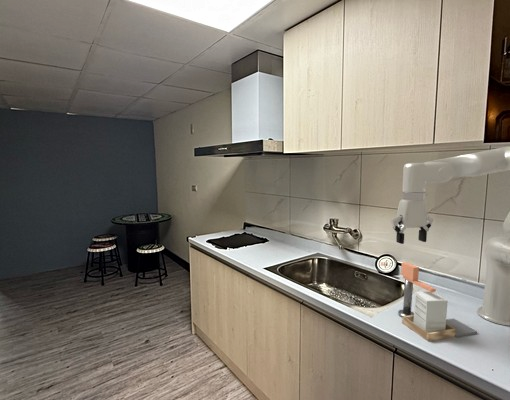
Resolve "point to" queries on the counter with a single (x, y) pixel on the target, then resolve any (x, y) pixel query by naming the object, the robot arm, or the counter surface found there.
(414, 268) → the lever
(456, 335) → the coaster
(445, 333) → the frame
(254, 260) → the counter surface
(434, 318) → the white drawer cabinet
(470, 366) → the counter surface
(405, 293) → the post
